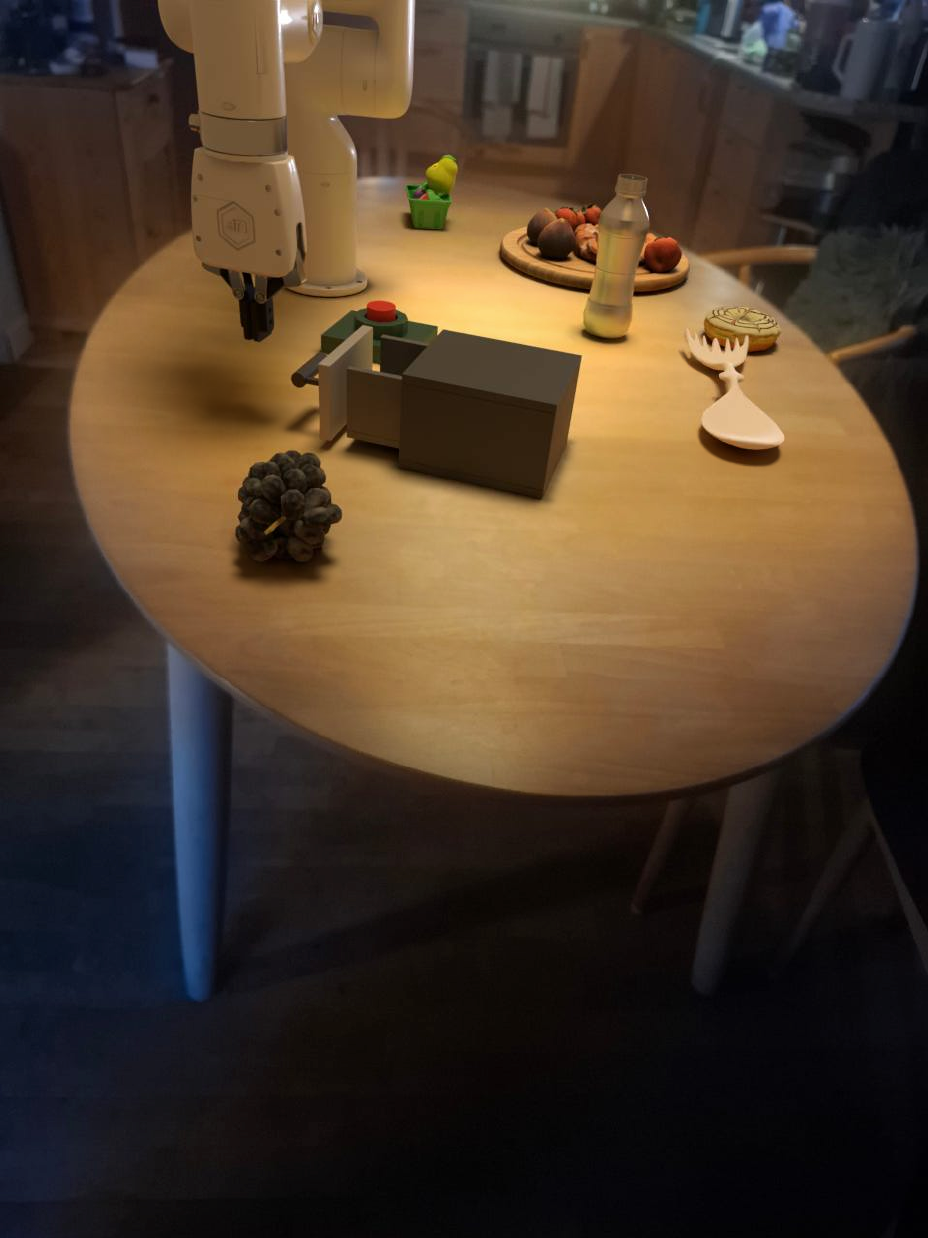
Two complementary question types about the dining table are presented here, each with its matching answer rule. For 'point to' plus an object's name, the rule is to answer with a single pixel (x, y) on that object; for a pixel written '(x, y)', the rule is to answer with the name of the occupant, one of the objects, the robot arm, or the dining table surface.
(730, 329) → the decorated donut
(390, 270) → the dining table surface
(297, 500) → the fruit
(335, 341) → the control block
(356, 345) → the drawer
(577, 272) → the wooden plate
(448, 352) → the cabinet
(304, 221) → the robot arm
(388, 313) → the button
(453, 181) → the fruit basket
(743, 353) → the cream spork
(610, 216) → the plastic bottle
